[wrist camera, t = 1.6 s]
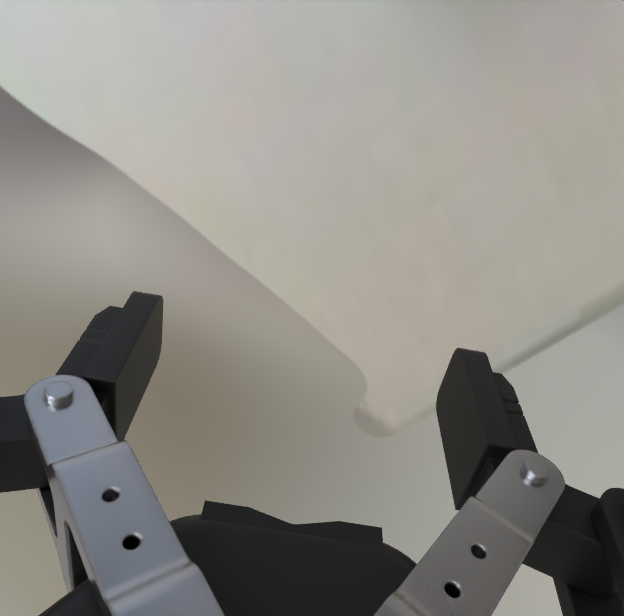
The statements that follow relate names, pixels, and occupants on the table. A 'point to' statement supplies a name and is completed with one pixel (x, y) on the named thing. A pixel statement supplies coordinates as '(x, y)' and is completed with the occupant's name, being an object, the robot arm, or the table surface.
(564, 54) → the table surface
